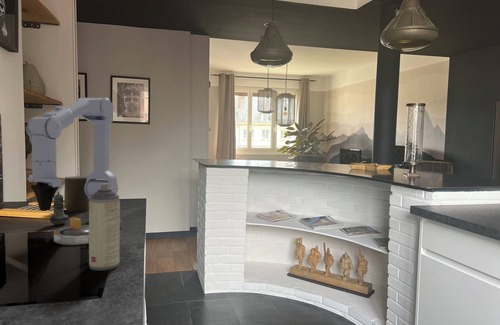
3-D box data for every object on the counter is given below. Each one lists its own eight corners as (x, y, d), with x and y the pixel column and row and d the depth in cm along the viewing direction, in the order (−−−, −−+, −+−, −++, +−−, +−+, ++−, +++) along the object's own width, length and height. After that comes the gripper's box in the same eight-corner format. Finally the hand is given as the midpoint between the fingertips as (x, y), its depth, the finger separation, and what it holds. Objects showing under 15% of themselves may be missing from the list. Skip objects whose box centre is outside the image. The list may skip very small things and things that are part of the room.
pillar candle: (83, 212, 142) (83, 175, 142) (59, 211, 143) (59, 174, 142) (94, 208, 152) (94, 173, 151) (71, 207, 152) (72, 172, 151)
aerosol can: (104, 258, 91) (105, 181, 90) (125, 263, 88) (126, 183, 87) (82, 267, 85) (82, 184, 83) (104, 272, 82) (104, 186, 81)
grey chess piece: (60, 229, 117) (59, 193, 116) (44, 228, 118) (44, 192, 117) (72, 225, 122) (72, 191, 122) (57, 224, 124) (57, 190, 123)
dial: (104, 236, 107) (104, 219, 107) (74, 243, 99) (74, 225, 99) (86, 231, 112) (85, 215, 112) (56, 237, 105) (56, 220, 104)
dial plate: (89, 231, 116) (89, 221, 116) (118, 239, 108) (118, 229, 108) (42, 241, 104) (41, 230, 103) (70, 252, 95) (70, 240, 95)
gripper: (16, 159, 98) (17, 208, 99) (41, 163, 90) (42, 216, 91) (43, 159, 104) (44, 205, 105) (69, 162, 96) (69, 212, 97)
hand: (45, 210), depth 98 cm, fingers closed
